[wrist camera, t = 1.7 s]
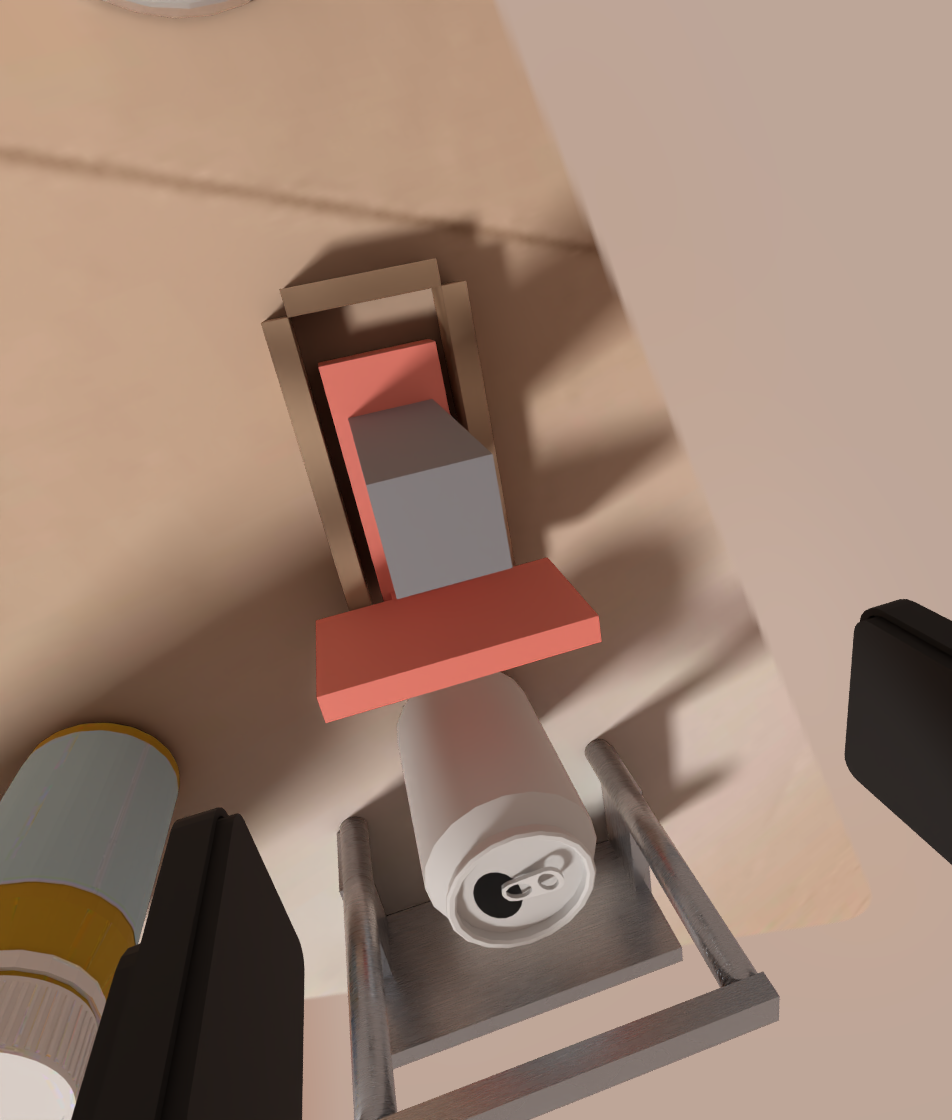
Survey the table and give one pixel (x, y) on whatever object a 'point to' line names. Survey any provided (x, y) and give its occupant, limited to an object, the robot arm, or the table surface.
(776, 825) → the table surface
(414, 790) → the can
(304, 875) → the table surface
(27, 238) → the table surface
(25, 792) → the bottle
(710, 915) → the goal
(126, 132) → the table surface
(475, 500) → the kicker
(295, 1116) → the robot arm
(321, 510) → the brown wooden rectangular frame
